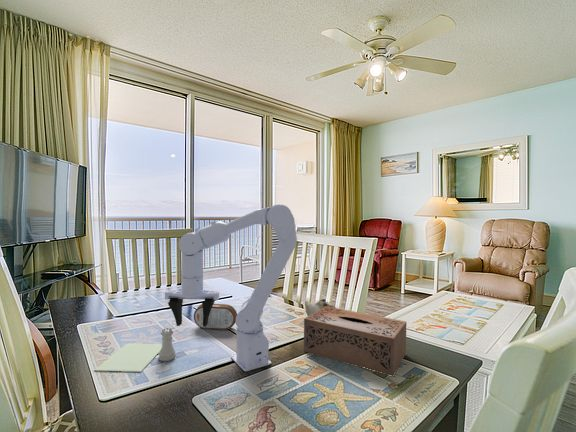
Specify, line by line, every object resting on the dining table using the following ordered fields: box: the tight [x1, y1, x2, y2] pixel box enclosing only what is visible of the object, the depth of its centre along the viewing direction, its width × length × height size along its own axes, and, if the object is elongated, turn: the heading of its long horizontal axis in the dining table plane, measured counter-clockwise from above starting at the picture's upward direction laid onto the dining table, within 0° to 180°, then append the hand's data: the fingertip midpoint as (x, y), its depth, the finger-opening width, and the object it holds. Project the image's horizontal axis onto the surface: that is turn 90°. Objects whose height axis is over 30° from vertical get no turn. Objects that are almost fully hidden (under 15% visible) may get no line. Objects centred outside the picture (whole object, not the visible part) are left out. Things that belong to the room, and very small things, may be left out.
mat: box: [93, 342, 162, 373], centre depth 90 cm, size 12×16×1 cm
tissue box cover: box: [303, 306, 407, 377], centre depth 94 cm, size 26×14×10 cm, turn 58°
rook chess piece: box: [158, 327, 176, 362], centre depth 89 cm, size 4×4×8 cm
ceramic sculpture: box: [304, 298, 337, 317], centre depth 119 cm, size 11×9×15 cm
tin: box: [193, 303, 238, 331], centre depth 111 cm, size 15×3×8 cm, turn 84°
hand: (192, 325), depth 89 cm, fingers open, 7 cm apart
